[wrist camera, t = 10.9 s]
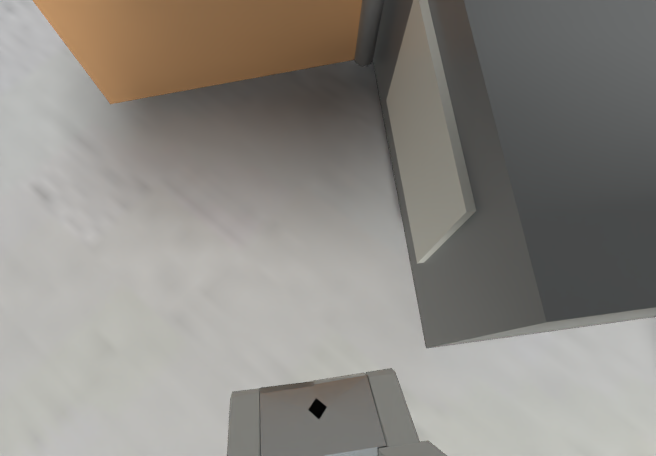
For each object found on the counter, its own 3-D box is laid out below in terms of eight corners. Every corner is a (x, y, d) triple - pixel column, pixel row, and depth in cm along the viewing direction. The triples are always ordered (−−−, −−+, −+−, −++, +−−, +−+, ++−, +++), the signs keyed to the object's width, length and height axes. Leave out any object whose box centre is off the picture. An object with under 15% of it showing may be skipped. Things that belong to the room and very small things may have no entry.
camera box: (420, 349, 22) (533, 323, 11) (361, 28, 27) (397, -223, 16) (672, 314, 23) (1027, 256, 12) (571, 9, 28) (751, -243, 17)
